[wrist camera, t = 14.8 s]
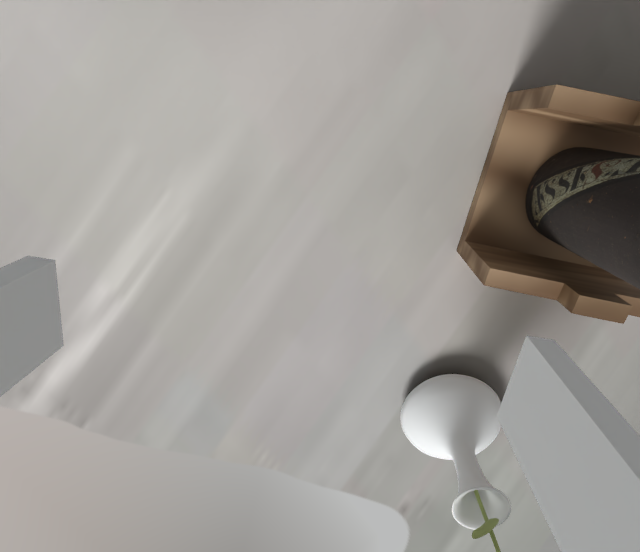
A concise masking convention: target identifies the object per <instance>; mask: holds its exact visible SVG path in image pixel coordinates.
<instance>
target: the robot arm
mask: <svg viewBox="0 0 640 552" xmlns="http://www.w3.org/2000/svg"><path fill="white" fill-rule="evenodd" d="M62 346H64V344H63V334H62V324H61V314H60V304H59V294H58V284H57V274H56V264H55V260H51V259H45V258H39V257H33V256H26V257H24V258H22V259H20V260H17V261H15V262H13V263H11V264H8V265H6V266H4V267H2V268H0V397H1V396H2V395H3V394H4V393H6V392H7V391H8V390H9V389H11V388H12V387H13V386H14V385H15V384H17V383H18V382H19V381H20V380H22V379H23V378H24V377H25V376H27V375H28V374H29V373H30V372H31V371H33V370H34V369H35V368H36V367H38V366H39V365H40V364H41V363H43V362H44V361H45V360H46V359H48V358H49V357H50V356H51V355H52V354H54V353H55V352H56V351H57V350H59V349H60V348H61V347H62ZM497 418H498V420H499V422H500V424H501V426H502V429H503V431H504V433H505V435H506V437H507V439H508V441H509V443H510V445H511V447H512V449H513V452H514V454H515V456H516V458H517V460H518V462H519V464H520V466H521V468H522V470H523V473H524V475H525V477H526V479H527V481H528V483H529V485H530V487H531V489H532V491H533V494H534V496H535V498H536V500H537V502H538V504H539V506H540V508H541V510H542V512H543V515H544V517H545V519H546V521H547V523H548V525H549V527H550V529H551V531H552V533H553V536H554V538H555V540H556V542H557V544H558V546H559V548H560V550H561V552H640V436H639V434H638V433H637V432H636V431H635V430H634V429H633V428H632V427H631V425H630V424H629V423H628V422H627V421H626V420H625V419H624V418H623V416H622V415H621V414H620V413H619V412H618V411H617V410H616V409H615V407H614V406H613V405H612V404H611V403H610V402H609V401H608V400H607V398H606V397H605V396H604V395H603V394H602V393H601V392H600V391H599V389H598V388H597V387H596V386H595V385H594V384H593V383H592V382H591V380H590V379H589V378H588V377H587V376H586V375H585V374H584V373H583V371H582V370H581V369H580V368H579V367H578V366H577V365H576V364H575V362H574V361H573V360H572V359H571V358H570V357H569V356H568V355H567V353H566V352H565V351H564V350H563V349H562V348H561V347H560V346H559V344H558V343H557V342H556V341H555V340H552V339H545V338H539V337H533V336H526V338H525V341H524V344H523V346H522V349H521V352H520V354H519V357H518V360H517V362H516V365H515V368H514V370H513V373H512V376H511V378H510V381H509V384H508V386H507V389H506V392H505V394H504V397H503V400H502V402H501V405H500V408H499V410H498V413H497Z"/></svg>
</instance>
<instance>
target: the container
mask: <svg viewBox="0 0 640 552" xmlns="http://www.w3.org/2000/svg"><path fill="white" fill-rule="evenodd" d="M525 206H526V213H527V217H528V220H529V222H530V223H531V225H532V226H533V228H534V229H535V230H536V231H537V232H539V233H540V234H541V235H543V236H544V237H546V238H548V239H549V240H551V241H553V242H555V243H557V244H558V245H560V246H562V247H564V248H566V249H567V250H569V251H571V252H573V253H575V254H577V255H578V256H580V257H582V258H584V259H586V260H588V261H589V262H591V263H593V264H595V265H596V266H598V267H600V268H602V269H604V270H605V271H607V272H609V273H611V274H613V275H614V276H616V277H618V278H620V279H622V280H624V281H626V282H627V283H629V284H631V285H633V286H635V287H636V288H638V289H640V156H638V155H632V154H626V153H620V152H614V151H608V150H602V149H595V148H586V147H574V148H569V149H565V150H563V151H561V152H559V153H557V154H555V155H553V156H552V157H551V158H549V159H548V160H547V161H546V162H545V163H544V164H543V165H542V166H541V167H540V168H539V169H538V170H537V172H536V173H535V175H534V176H533V178H532V180H531V182H530V184H529V186H528V189H527V193H526V201H525Z"/></svg>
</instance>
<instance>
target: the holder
mask: <svg viewBox="0 0 640 552" xmlns="http://www.w3.org/2000/svg"><path fill="white" fill-rule="evenodd" d="M574 147H586V148H595V149H602V150H608V151H614V152H620V153H626V154H632V155H638V156H640V101H635V100H630V99H625V98H620V97H615V96H610V95H606V94H601V93H596V92H591V91H586V90H581V89H576V88H571V87H566V86H561V85H557V84H556V85H550V86H544V87H538V88H532V89H526V90H520V91H515V92H509V93H507V96H506V99H505V102H504V106H503V109H502V112H501V115H500V118H499V121H498V124H497V127H496V130H495V133H494V136H493V140H492V143H491V146H490V149H489V152H488V155H487V158H486V161H485V164H484V167H483V170H482V173H481V177H480V180H479V183H478V186H477V189H476V192H475V195H474V198H473V201H472V204H471V207H470V211H469V214H468V217H467V220H466V223H465V226H464V229H463V232H462V235H461V238H460V241H459V245H458V248H457V252H458V253H459V254H460V256H461V257H462V258H463V259H464V261H465V262H466V263H467V265H468V266H469V267H470V268H471V270H472V271H473V272H474V273H475V275H476V276H477V277H478V278H479V280H480V281H481V282H482V283H483V285H485V286H490V287H495V288H500V289H505V290H509V291H514V292H519V293H524V294H529V295H534V296H539V297H544V298H549V299H554V300H557V301H558V302H560V303H561V304H562V305H563V306H564V307H565V308H566V309H567V310H569V311H570V312H571V313H573V314H578V315H583V316H588V317H593V318H598V319H603V320H608V321H613V322H618V323H623V324H624V322H625V320H626V318H627V316H628V315H632V316H637V317H640V289H638V288H636V287H635V286H633V285H631V284H629V283H627V282H626V281H624V280H622V279H620V278H618V277H616V276H614V275H613V274H611V273H609V272H607V271H605V270H604V269H602V268H600V267H598V266H596V265H595V264H593V263H591V262H589V261H588V260H586V259H584V258H582V257H580V256H578V255H577V254H575V253H573V252H571V251H569V250H567V249H566V248H564V247H562V246H560V245H558V244H557V243H555V242H553V241H551V240H549V239H548V238H546V237H544V236H543V235H541V234H540V233H539V232H537V231H536V230H535V229H534V228H533V226H532V225H531V223H530V222H529V220H528V217H527V213H526V206H525V201H526V193H527V189H528V186H529V184H530V182H531V180H532V178H533V176H534V175H535V173H536V172H537V170H538V169H539V168H540V167H541V166H542V165H543V164H544V163H545V162H546V161H547V160H548V159H549V158H551V157H552V156H553V155H555V154H557V153H559V152H561V151H563V150H565V149H569V148H574Z"/></svg>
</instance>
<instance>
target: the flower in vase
mask: <svg viewBox="0 0 640 552" xmlns="http://www.w3.org/2000/svg"><path fill="white" fill-rule="evenodd" d="M500 405H501V402H500V399H499V397H498V396H497V394H496V393H495V391H494V390H493V389H492V388H491V387H490V386H488V385H487V384H486V383H484V382H483V381H481V380H479V379H476V378H473V377H470V376H466V375H459V374H446V375H440V376H436V377H433V378H430V379H428V380H426V381H424V382H422V383H421V384H419V385H418V386H417V387H416V388H414V389H413V390H412V391H411V392H410V394H409V395H408V396H407V398H406V399H405V401H404V403H403V405H402V408H401V414H400V421H401V426H402V429H403V431H404V433H405V435H406V437H407V438H408V439H409V441H410V442H411V443H412V444H413V445H414V446H415V447H416V448H417V449H419V450H420V451H422V452H423V453H425V454H427V455H430V456H433V457H436V458H441V459H448V460H453V461H454V464H455V467H456V471H457V477H458V489H459V490H458V495H457V497H456V498H455V500H454V502H453V505H452V514H453V516H454V518H455V520H456V521H457V522H458V523H459V524H461V525H462V526H464V527H467V528H470V529H474V531H473V533H472V538H474V539H477V538H480V537H482V536H484V535H486V534H487V533H490V536H491V538H492V541H493V543H494V546H495V549H496V552H501V551H500V549H499V546H498V543H497V540H496V538H495V535H494V532H493V530H492V529H493V528H494V527H496V526H498V525H500V524H502V523H503V522H504V521H505V520H506V519H507V518H508V517H509V515H510V512H511V503H510V500H509V499H508V497H507V496H506V495H505V494H504V493H503V492H501V491H500V490H498V489H496V488H494V487H493V486H492V485H491V484H490V483H489V482H488V480H487V479H486V477H485V476H484V474H483V472H482V470H481V468H480V466H479V464H478V461H477V458H476V454H478V453H479V452H481V451H482V450H484V449H485V448H486V447H488V446H489V445H490V444H491V443H492V442H493V441H494V439H495V438H496V437H497V435H498V433H499V431H500V429H501V424H500V422H499V420H498V418H497V413H498V410H499V408H500Z"/></svg>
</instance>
